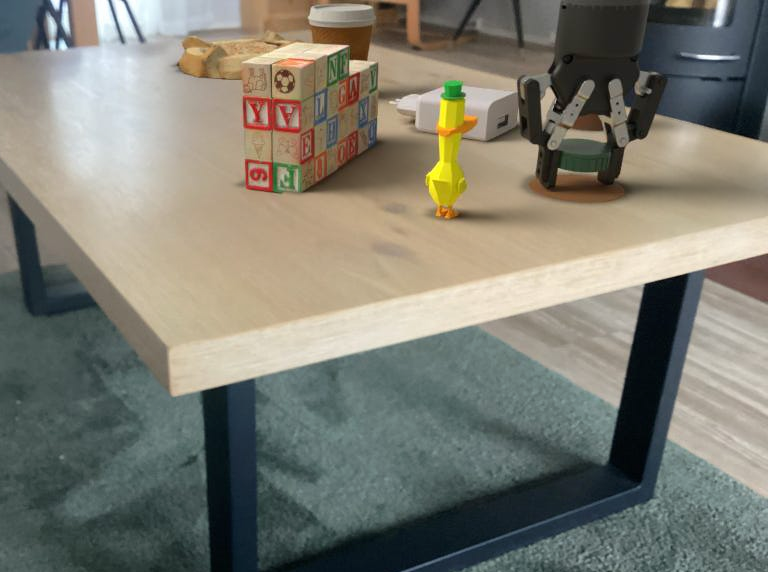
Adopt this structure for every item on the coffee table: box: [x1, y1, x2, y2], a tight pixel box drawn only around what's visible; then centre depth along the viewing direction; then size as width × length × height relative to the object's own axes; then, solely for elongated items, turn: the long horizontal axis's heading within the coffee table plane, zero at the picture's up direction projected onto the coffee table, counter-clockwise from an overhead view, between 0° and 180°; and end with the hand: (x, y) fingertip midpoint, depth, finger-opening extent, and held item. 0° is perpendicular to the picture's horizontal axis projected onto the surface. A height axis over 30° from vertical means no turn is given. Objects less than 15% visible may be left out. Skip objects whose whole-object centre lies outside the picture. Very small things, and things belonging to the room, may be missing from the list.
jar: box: [570, 114, 604, 132], centre depth 104 cm, size 5×5×10 cm
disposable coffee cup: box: [307, 3, 377, 61], centre depth 122 cm, size 10×10×12 cm
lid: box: [557, 137, 612, 174], centre depth 83 cm, size 6×6×2 cm
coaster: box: [528, 174, 626, 204], centre depth 84 cm, size 9×9×1 cm
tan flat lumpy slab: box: [175, 29, 307, 80], centre depth 146 cm, size 24×24×5 cm
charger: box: [388, 85, 519, 143], centre depth 106 cm, size 5×9×15 cm
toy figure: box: [425, 80, 478, 219], centre depth 75 cm, size 7×4×12 cm, turn 142°
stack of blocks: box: [241, 42, 379, 194], centre depth 90 cm, size 21×6×12 cm, turn 155°
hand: (575, 183), depth 84 cm, fingers closed on lid, 5 cm apart
